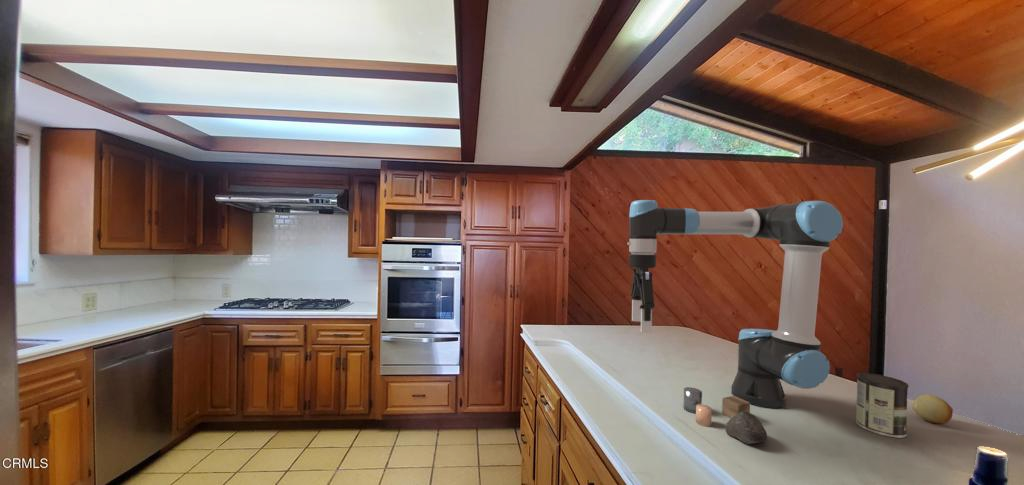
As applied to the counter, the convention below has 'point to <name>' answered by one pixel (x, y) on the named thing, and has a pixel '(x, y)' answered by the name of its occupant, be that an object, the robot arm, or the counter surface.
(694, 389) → the metal tin
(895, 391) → the coffee can
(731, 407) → the walnut block
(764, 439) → the stone
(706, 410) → the peach rounded capsule
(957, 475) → the counter surface
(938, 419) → the fruit
